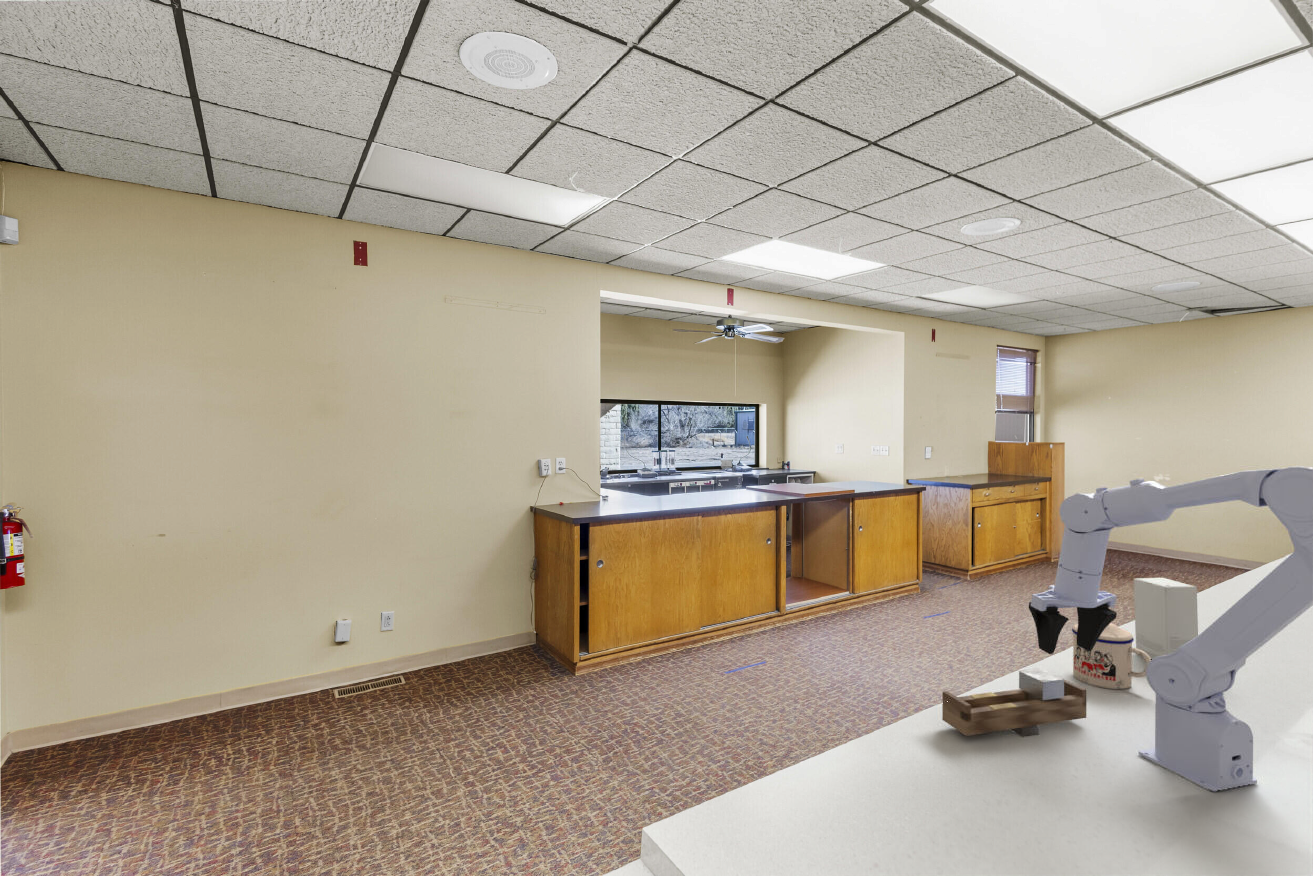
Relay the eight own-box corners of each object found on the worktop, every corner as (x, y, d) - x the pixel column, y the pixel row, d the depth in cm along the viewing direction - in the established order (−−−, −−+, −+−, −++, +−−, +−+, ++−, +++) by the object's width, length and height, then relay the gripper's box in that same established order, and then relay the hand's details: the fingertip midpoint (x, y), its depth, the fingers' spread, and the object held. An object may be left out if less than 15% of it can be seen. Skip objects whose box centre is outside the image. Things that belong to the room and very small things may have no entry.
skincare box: (1200, 668, 117) (1200, 587, 117) (1165, 668, 117) (1165, 587, 117) (1164, 652, 125) (1165, 576, 125) (1131, 652, 125) (1132, 576, 125)
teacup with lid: (1062, 677, 113) (1062, 614, 113) (1085, 666, 118) (1085, 606, 118) (1140, 701, 103) (1141, 632, 103) (1162, 689, 108) (1162, 623, 107)
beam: (1055, 709, 100) (1055, 675, 100) (1089, 727, 94) (1089, 690, 94) (940, 726, 94) (940, 690, 94) (968, 745, 89) (969, 707, 88)
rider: (1039, 694, 98) (1039, 668, 98) (1063, 706, 94) (1064, 679, 94) (1019, 697, 97) (1019, 670, 97) (1042, 709, 93) (1042, 682, 93)
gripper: (1092, 558, 101) (1078, 635, 103) (1021, 560, 97) (1007, 639, 100) (1135, 574, 94) (1118, 656, 96) (1059, 577, 91) (1044, 662, 93)
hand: (1065, 649), depth 98 cm, fingers open, 7 cm apart
